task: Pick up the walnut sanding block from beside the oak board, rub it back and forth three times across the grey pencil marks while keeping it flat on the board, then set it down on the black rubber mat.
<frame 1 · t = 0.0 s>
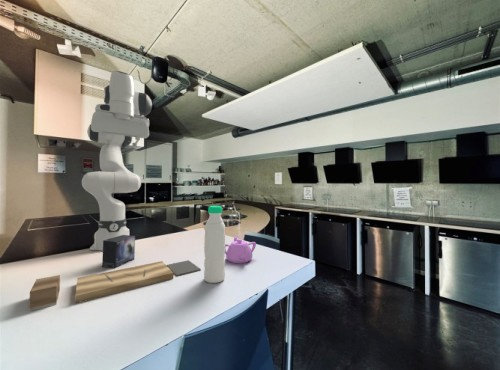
hand: (121, 146, 86), 48 cm above the table, tool pointing down, fingers open, 8 cm apart
water bottle: (214, 279, 72), on the table
sanding block: (45, 300, 58), on the table
oak board: (127, 281, 70), on the table
small box: (119, 263, 87), on the table
teapot: (239, 260, 92), on the table
rubber mat: (183, 268, 82), on the table
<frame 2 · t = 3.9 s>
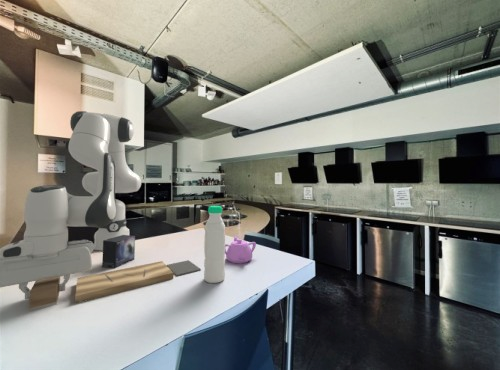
hand: (46, 294, 58), 2 cm above the table, tool pointing down, fingers closed on sanding block, 5 cm apart
sanding block: (46, 300, 58), on the table, touching gripper
everything else where it was.
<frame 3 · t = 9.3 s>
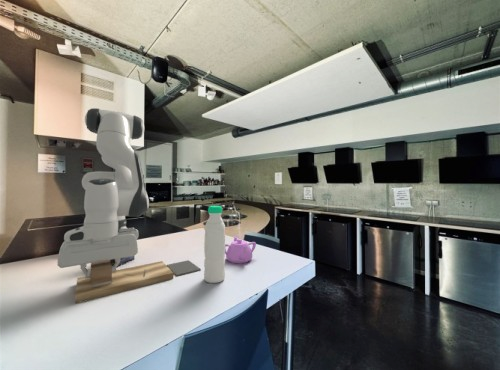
hand: (100, 274, 66), 4 cm above the table, tool pointing down, fingers closed on sanding block, 5 cm apart
sanding block: (100, 280, 66), point 2 cm above the table, touching gripper
everything else where it was.
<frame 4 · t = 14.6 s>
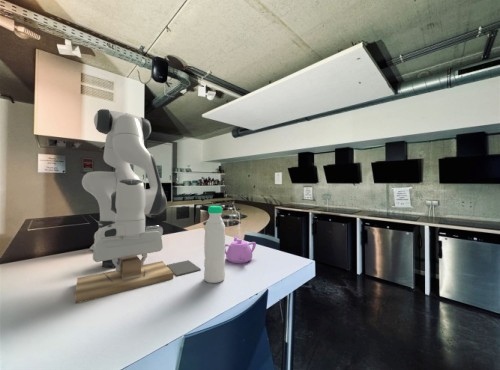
hand: (129, 269, 71), 4 cm above the table, tool pointing down, fingers closed on sanding block, 5 cm apart
sanding block: (129, 273, 71), point 2 cm above the table, touching gripper
everything else where it was.
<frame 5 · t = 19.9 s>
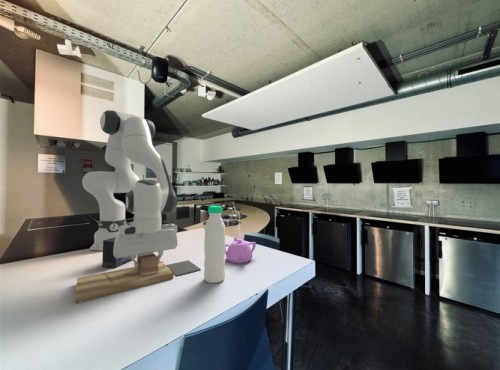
hand: (147, 265, 74), 4 cm above the table, tool pointing down, fingers closed on sanding block, 5 cm apart
sanding block: (147, 270, 74), point 2 cm above the table, touching gripper
everything else where it was.
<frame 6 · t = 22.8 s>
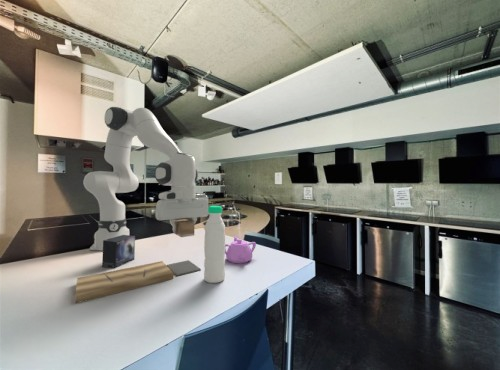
hand: (183, 229, 82), 15 cm above the table, tool pointing down, fingers closed on sanding block, 5 cm apart
sanding block: (183, 234, 82), point 13 cm above the table, touching gripper
everything else where it was.
when the fingers open (4 cm above the table, at t = 25.1 s): sanding block drops 2 cm, resting on rubber mat.
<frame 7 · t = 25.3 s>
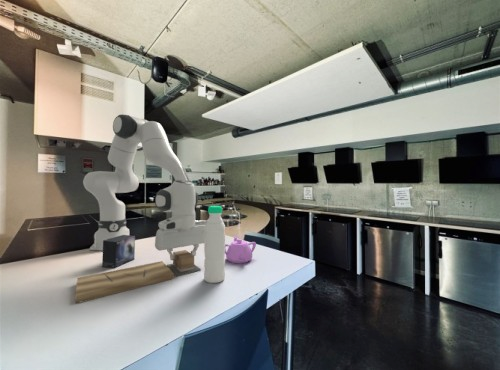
hand: (183, 257, 82), 4 cm above the table, tool pointing down, fingers open, 7 cm apart
sanding block: (183, 266, 82), resting on rubber mat
everything else where it was.
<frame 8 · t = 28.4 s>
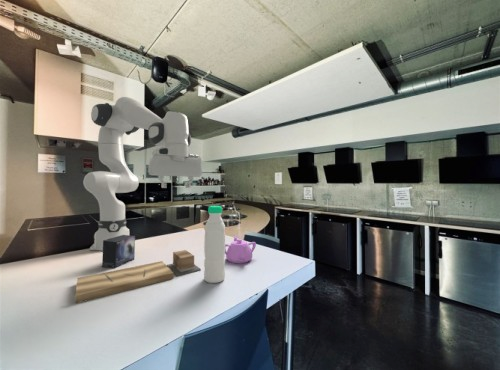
hand: (176, 187, 83), 31 cm above the table, tool pointing down, fingers open, 8 cm apart
nothing on the table moved.
at the end: sanding block inside the target area on the rubber mat (0.1 cm from its centre), point 0.5 cm above the rubber mat's base; sanding block tilted 0°; the gripper is holding nothing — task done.
